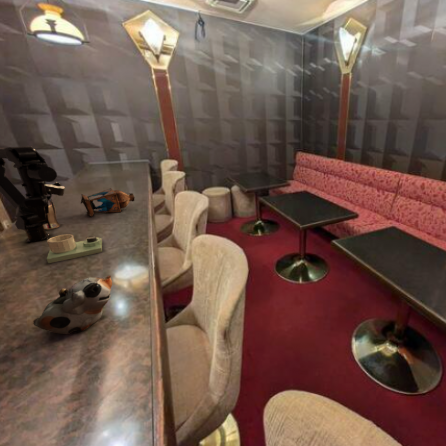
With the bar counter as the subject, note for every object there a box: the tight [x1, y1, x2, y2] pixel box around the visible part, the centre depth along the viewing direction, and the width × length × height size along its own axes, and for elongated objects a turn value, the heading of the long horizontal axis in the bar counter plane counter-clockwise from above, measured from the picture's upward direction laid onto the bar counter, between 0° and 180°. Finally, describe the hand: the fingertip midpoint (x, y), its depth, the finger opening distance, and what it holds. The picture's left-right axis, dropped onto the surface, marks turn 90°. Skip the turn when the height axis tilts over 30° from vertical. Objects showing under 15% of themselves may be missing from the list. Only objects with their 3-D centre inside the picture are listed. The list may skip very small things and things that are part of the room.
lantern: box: [80, 187, 136, 218], centre depth 145 cm, size 16×16×25 cm
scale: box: [46, 237, 103, 264], centre depth 100 cm, size 16×12×4 cm
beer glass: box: [43, 197, 61, 231], centre depth 119 cm, size 7×7×15 cm
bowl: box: [46, 233, 77, 253], centre depth 97 cm, size 7×7×5 cm
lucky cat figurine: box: [32, 275, 113, 335], centre depth 65 cm, size 15×12×14 cm
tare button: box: [86, 235, 97, 243], centre depth 102 cm, size 3×3×2 cm
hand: (45, 216), depth 103 cm, fingers open, 9 cm apart
